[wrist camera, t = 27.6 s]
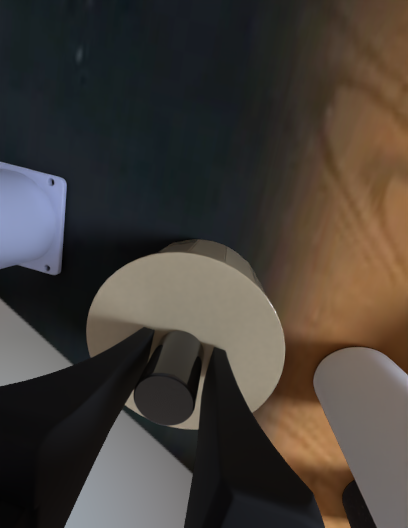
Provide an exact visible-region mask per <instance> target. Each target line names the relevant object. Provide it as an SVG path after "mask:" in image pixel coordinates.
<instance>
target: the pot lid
mask: <svg viewBox="0 0 408 528" xmlns="http://www.w3.org/2000/svg"><path fill="white" fill-rule="evenodd" d="M143 327H147V328H150V329H154V330H155V331H154V336H153V341H152V346H151V351H150V355H149V360H148V363H147V365H146V367H145V369H144V370H143V372H142V374H141V376H140V378H139V380H138V382H137V384H136V385H135V388H134V390H133V392H132V393H131V395H130V397H129V398H128V400H127V402H126V403H125V405H126V406H127V407H128V408H130V409H131V410H133V411H135V412H136V413H138V414H140V415H141V416H143V417H145V418H147V419H149V420H150V421H152V422H154V423H157V424H160V425H167V426H170V427H175V428H181V429H192V430H196V429H198V428H199V416H200V404H201V395H202V389H203V384H204V378H205V375H206V371H207V368H208V365H209V362H210V358H211V355H212V352H213V348H214V347H216V348H219V349H223V350H225V351H226V353H227V357H228V360H229V363H230V366H231V369H232V372H233V374H234V377H235V379H236V382H237V384H238V386H239V389H240V391H241V393H242V395H243V397H244V399H245V401H246V403H247V405H248V407H249V409H250V410H251V412H254V411H255V410H257V409H258V408H259V407H260V406H261V405H262V404H263V403H264V402H265V401H266V400H267V399H268V397H269V396H270V395H271V394H272V392H273V390H274V389H275V387H276V385H277V384H278V381H279V379H280V376H281V373H282V370H283V365H284V361H285V340H284V334H283V330H282V326H281V323H280V320H279V318H278V315H277V313H276V311H275V309H274V307H273V305H272V303H271V302H270V300H269V298H268V297H267V295H266V294H265V293H264V292H263V290H262V289H261V288H260V287H259V286H258V285H257V284H256V283H255V282H254V281H253V280H252V279H251V278H250V277H249V276H248V275H246V274H245V273H244V272H242V271H241V270H239V269H238V268H237V267H235V266H233V265H231V264H229V263H227V262H225V261H223V260H221V259H218V258H215V257H213V256H210V255H206V254H202V253H198V252H191V251H164V252H157V253H153V254H149V255H146V256H143V257H140V258H138V259H136V260H134V261H132V262H130V263H128V264H126V265H125V266H123V267H122V268H120V269H119V270H117V271H116V272H115V273H114V274H112V275H111V276H110V277H109V278H108V279H107V280H106V281H105V283H104V284H103V285H102V286H101V288H100V289H99V291H98V292H97V294H96V296H95V297H94V300H93V302H92V305H91V307H90V310H89V314H88V319H87V329H86V333H87V344H88V349H89V354H90V357H91V358H92V357H94V356H96V355H98V354H100V353H101V352H103V351H105V350H107V349H109V348H111V347H113V346H114V345H116V344H118V343H119V342H121V341H123V340H124V339H126V338H127V337H129V336H130V335H132V334H134V333H135V332H137V331H138V330H140V329H141V328H143Z"/></svg>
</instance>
